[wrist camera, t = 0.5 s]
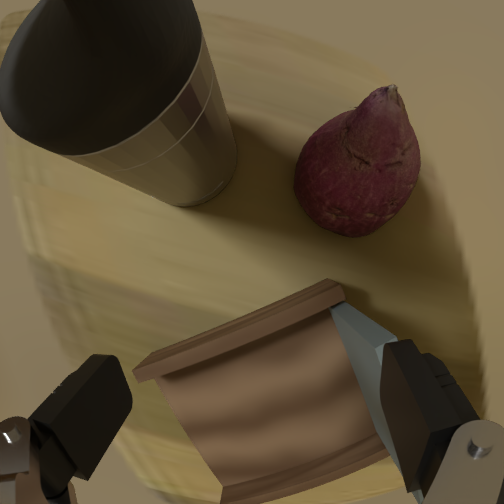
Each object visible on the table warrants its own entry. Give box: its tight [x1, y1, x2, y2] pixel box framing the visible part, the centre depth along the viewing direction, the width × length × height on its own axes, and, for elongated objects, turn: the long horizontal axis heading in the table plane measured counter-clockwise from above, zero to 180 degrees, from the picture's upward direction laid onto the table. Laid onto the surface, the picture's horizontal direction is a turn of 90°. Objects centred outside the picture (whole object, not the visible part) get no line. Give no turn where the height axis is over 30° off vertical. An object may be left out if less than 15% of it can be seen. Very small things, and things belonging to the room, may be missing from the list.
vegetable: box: [294, 84, 421, 237], centre depth 22 cm, size 10×10×15 cm
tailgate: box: [329, 301, 424, 504], centre depth 20 cm, size 14×2×12 cm, turn 24°
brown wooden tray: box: [132, 278, 390, 504], centre depth 26 cm, size 18×18×5 cm
